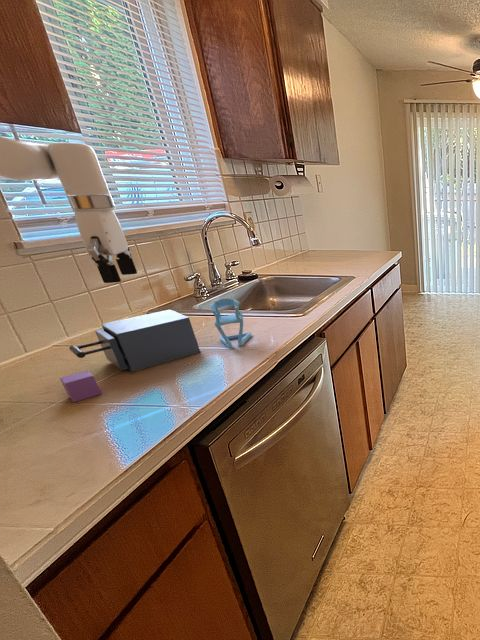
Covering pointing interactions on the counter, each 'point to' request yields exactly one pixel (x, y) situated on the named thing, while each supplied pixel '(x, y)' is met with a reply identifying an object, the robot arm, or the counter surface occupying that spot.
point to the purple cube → (80, 386)
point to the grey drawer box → (154, 338)
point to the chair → (229, 321)
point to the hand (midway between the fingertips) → (121, 278)
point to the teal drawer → (104, 349)
